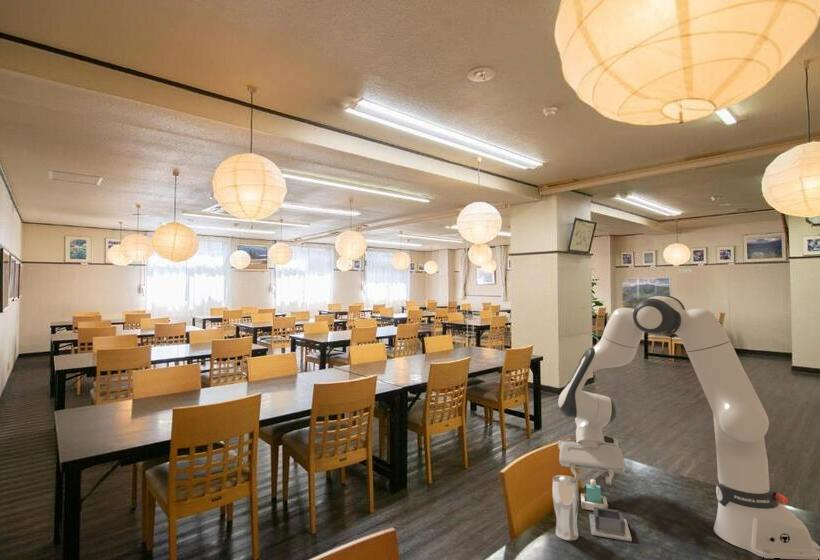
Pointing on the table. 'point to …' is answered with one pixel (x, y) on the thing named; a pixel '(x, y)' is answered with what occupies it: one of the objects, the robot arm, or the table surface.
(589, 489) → the teal bottle
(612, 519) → the port
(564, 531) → the beer glass
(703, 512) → the table surface
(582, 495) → the white shallow rectangular tray
